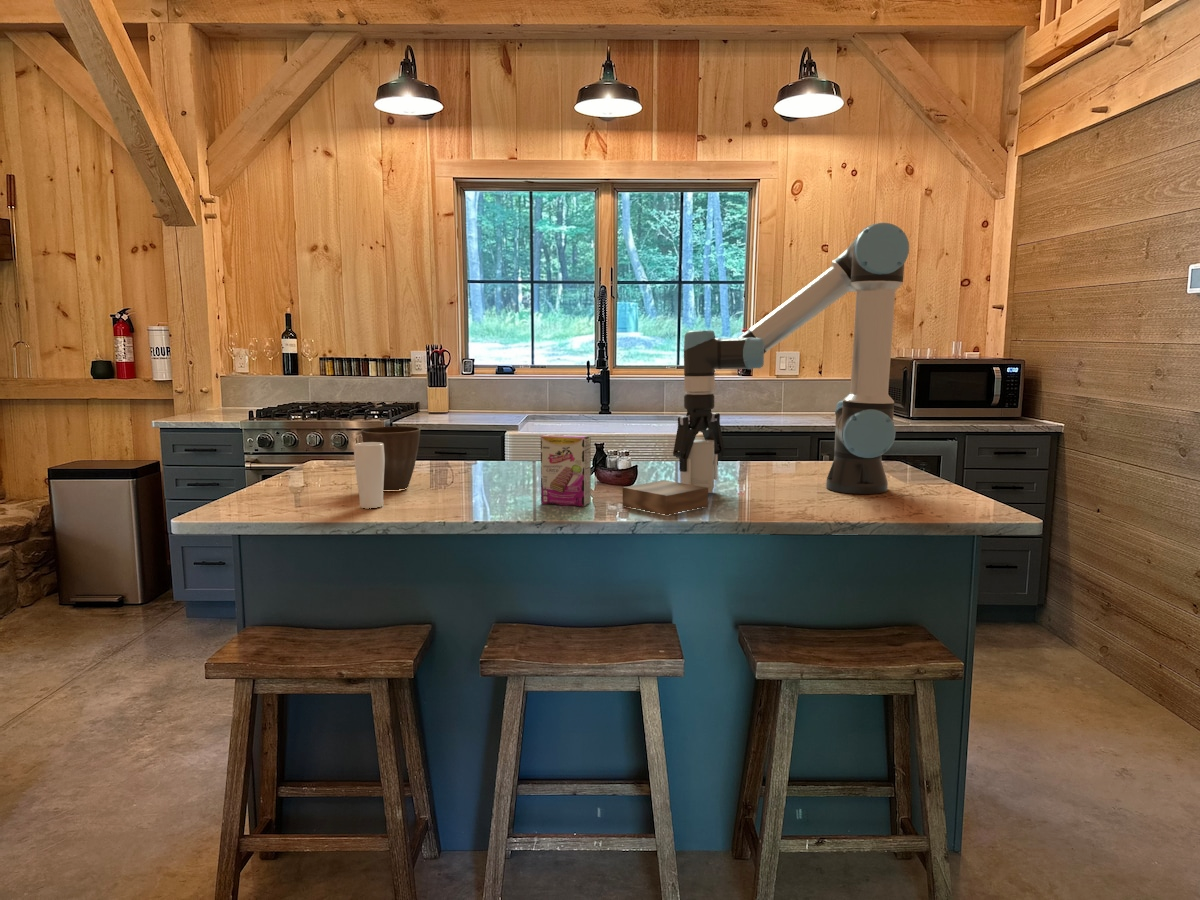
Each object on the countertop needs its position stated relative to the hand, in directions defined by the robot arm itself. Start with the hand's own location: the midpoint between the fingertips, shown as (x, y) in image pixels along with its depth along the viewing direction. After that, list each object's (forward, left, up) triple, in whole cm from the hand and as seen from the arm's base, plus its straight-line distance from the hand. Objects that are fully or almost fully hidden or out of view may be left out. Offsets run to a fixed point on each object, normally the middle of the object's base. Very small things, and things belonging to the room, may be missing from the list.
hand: (699, 481), depth 197 cm
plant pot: (+60, +52, -3) cm, 80 cm away
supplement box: (0, 0, -2) cm, 2 cm away
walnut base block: (-5, +18, -4) cm, 19 cm away
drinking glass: (+43, +67, -3) cm, 80 cm away
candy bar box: (+14, +32, -3) cm, 35 cm away
